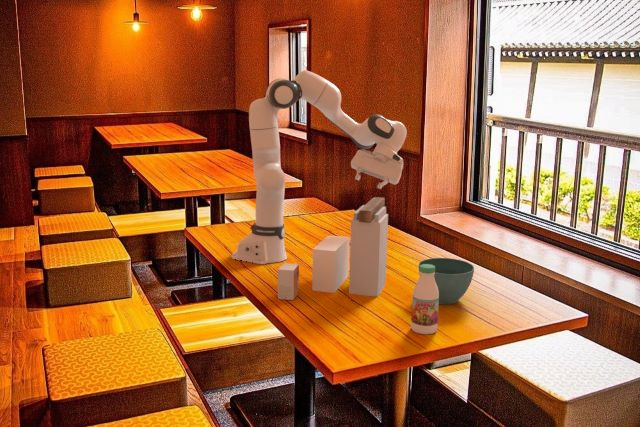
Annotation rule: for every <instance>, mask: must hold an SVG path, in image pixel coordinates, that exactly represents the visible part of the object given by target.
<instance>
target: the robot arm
mask: <svg viewBox="0 0 640 427" xmlns="http://www.w3.org/2000/svg"><path fill="white" fill-rule="evenodd" d="M300 99H301V100H304V101H306V102H307V103H309V104H310V105H312V106H313V107H316V109H318V110H319V111H320V112H321V113H322V114H323V116H324V117H325V118H326V120H328V121H329V122H331V123H332V124H333V125H334V126H335V127H336V128H338V129H339V130H340V131H341V132H343V133H344V134H345V135H347V136H348V137H349V138H350V140H351V141H352V142H353V143H354V145H356V146H357V147H358V148H360V149H359V150H357V152H355V155H354V156H353V158H351V161H350V167H351V169H354V170H356V175H355V177H354V179H355V180H357V181H360V179H361V173H364V174H366V175H368V176H372V177H374V178H376V179H379V180H381V181H382V182H380V181H379V182H378V184H377V187H376V188H377V189H380V190H382V188H383V187H384V186H385V185H387V184H388V183H390V184H392V185H397V184H399V182H400V179H401V177H402V173H403V172H402V171H403V169H404V158H402V157H401V156H399V155H398V152H399V150H401V149H402V146H403V145H404V143H405V140H406V139H407V133H408V132H407V131H408V130H407V128H406V126H405V125H404V124H403V123H402V122H400V121H398V120H390V119H387V118H385V117H384V116H383V115H381V114H376V113H375V114H372V115H370V116H369V117H367V118H366V119H365V120H364V121H363V122H362V123H359V122H356V121H355V120H354V119H352V118H351V117H350V116H348V114H346V113H345V112H344V111H343V110H342V107H341V103H342V94H341V90H340V89H339V88H338V87H337V86H336V85H335V84H334V83H332V82H331V81H329V80H328V79H326V78H324V77H323V76H320V75H319V74H317V73H315V72H312V71H309V70H307V69H305V70H302V71H300V72H299V73H298V74H297V75H295V78H294V79H292V80H290V79H286V78H276V79H273V80H272V81H271V82H270V83H269V85H268V86H267V88H266V90H265V94H264V95H263V97H262V98H258V99H255V100H253V101H252V102H251V103H250V105H249V111H248V122H249V123H248V124H249V133H250V134H249V136H250V142H251V143H250V144H251V151H252V152H251V153H252V166H253V167H252V168H253V176H254V180H255V182H256V196H255V198H256V199H255V222H254V223H253V224H251V226H249V230H250V233H248V234H247V235H246V236H245V237H243V239H241V240H240V241H239V242H238V244H237V249H236V250H235V251H234V252H232V254H231V255H230V256H231V257H230V258H231V260H235V259H236V261H240V260H242V262H246V261H247V263H252V262H253V263H252V264H258V265H266V264H272V263H279V262H283V261H285V260H287V259H288V254H287V253H286V247H285V240H284V239H285V224H284V201H285V191H286V189H285V188H286V175H285V172H284V170H283V169H282V166H281V165H282V164H281V144H280V143H281V142H280V133H279V123H278V113H279V110H281V109H282V110H284V109H289V108H291V107H292V106H294V105H295V104H296V103H297V102H298V101H299V100H300ZM375 144H376V146H375V148H374V150H373V151H370V150H368V149H371V148H372V147H373V146H374V145H375Z"/></svg>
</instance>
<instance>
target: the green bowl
mask: <svg viewBox="0 0 640 427" xmlns="http://www.w3.org/2000/svg"><path fill="white" fill-rule="evenodd" d="M422 264H430V265H434V266H435V274H434V279H435V282H436V285H437V287H438V291H439V304H440V305H452V304H453V305H454V304H456V303H457V302H458V301H460V300H461V298H462V297H463V296H464V295H465V294H466V293H467V291H468V289H469V287H470V285H471V284H472V283H471V282H472V281H473V280H472V279H473V276H474V272H475V267H474V265H473V264H471V263H470V262H468V261H465V260H462V259H456V258H450V257H432V258H427V259H423V260H421V261H420V262H419V263H418V268H419V267H420V265H422ZM418 274H419V276H420V273H419V272H418Z"/></svg>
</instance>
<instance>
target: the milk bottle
mask: <svg viewBox="0 0 640 427" xmlns="http://www.w3.org/2000/svg"><path fill="white" fill-rule="evenodd" d="M419 273H420V275H419V276H418V280H417V282H416V283H415V285H414V287H413V292H412V302H411V303H412V306H411V320H410V327H411V330H412V331H413V332H414V333H417V334H421V335H431V334H432V335H433V334H434V333H436V332H437V331H438V325H439V324H438V323H439V322H438V320H439V291H438V287H437V285H436V282H435V279H434V274H435V266H434V265H430V264H422V265H420V267H419V266H418V274H419Z"/></svg>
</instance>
